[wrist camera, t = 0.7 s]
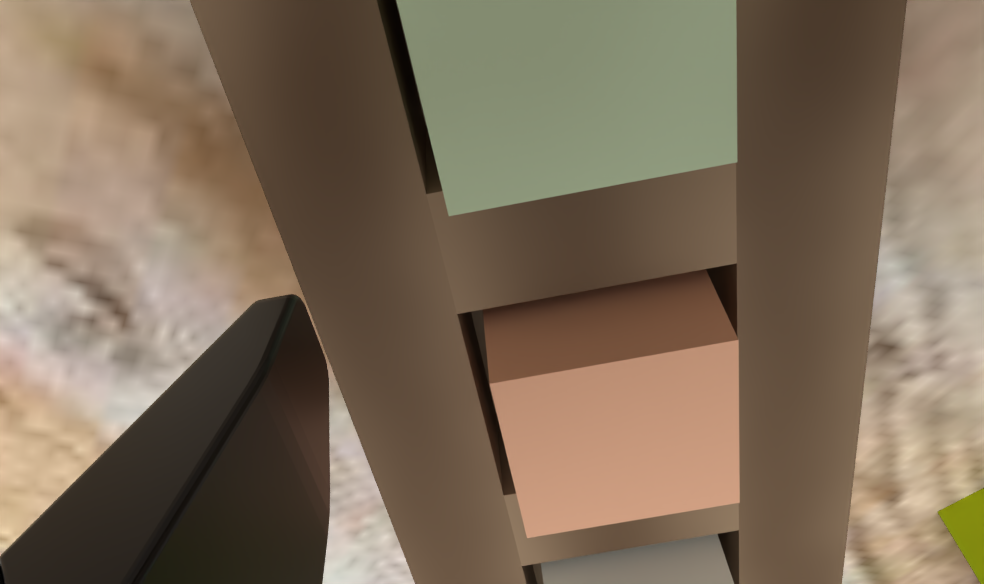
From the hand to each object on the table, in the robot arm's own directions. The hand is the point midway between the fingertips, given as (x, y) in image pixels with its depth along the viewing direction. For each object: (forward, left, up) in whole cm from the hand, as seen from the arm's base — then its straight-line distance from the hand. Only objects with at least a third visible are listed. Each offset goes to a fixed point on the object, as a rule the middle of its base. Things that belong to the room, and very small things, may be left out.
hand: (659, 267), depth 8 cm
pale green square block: (0, 0, -9) cm, 9 cm away
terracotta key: (0, +9, -9) cm, 13 cm away
